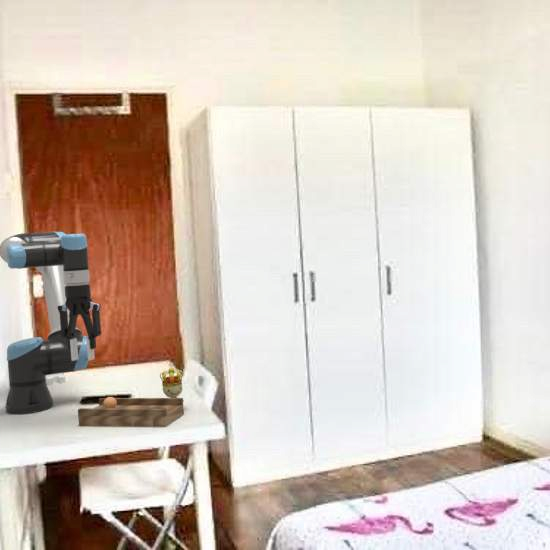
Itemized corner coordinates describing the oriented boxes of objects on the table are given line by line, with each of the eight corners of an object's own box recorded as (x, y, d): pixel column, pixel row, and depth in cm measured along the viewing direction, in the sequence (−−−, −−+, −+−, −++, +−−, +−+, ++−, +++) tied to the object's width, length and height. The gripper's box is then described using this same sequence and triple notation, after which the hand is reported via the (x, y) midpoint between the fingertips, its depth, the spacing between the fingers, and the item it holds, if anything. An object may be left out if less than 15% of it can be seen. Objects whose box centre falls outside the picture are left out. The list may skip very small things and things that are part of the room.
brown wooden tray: (78, 425, 206) (77, 409, 206) (101, 413, 220) (100, 398, 220) (165, 426, 200) (164, 409, 199) (183, 413, 213) (182, 397, 213)
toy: (166, 414, 214) (163, 366, 213) (159, 409, 221) (156, 363, 220) (188, 410, 217) (185, 363, 217) (180, 405, 224) (177, 360, 223)
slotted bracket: (65, 383, 274) (64, 363, 274) (47, 385, 272) (46, 366, 271) (61, 378, 286) (60, 359, 286) (44, 380, 283) (42, 361, 283)
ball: (101, 411, 210) (100, 398, 210) (107, 408, 214) (106, 395, 214) (113, 411, 209) (112, 398, 209) (119, 408, 213) (118, 395, 213)
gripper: (44, 286, 210) (50, 362, 211) (97, 284, 205) (103, 361, 207) (57, 284, 217) (63, 357, 218) (109, 282, 213) (115, 357, 214)
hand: (83, 359), depth 212 cm, fingers open, 5 cm apart
